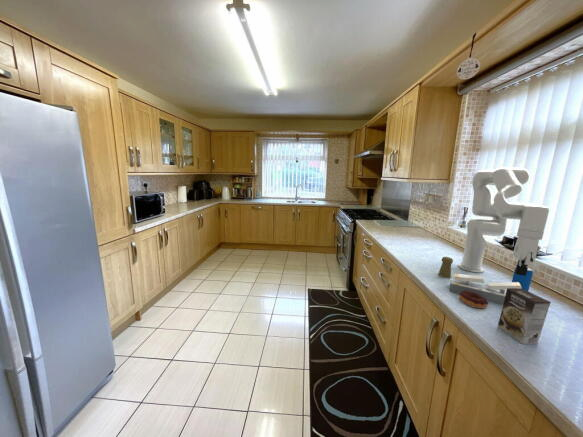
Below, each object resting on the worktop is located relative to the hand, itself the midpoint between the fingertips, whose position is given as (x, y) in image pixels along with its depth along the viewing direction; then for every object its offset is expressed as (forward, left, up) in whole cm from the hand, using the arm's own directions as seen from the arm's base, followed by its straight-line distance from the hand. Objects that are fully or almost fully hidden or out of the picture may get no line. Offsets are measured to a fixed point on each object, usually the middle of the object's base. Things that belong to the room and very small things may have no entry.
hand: (520, 274), depth 100 cm
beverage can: (-20, +6, -14) cm, 25 cm away
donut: (+11, -15, -15) cm, 24 cm away
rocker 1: (-1, -17, -7) cm, 19 cm away
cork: (-16, -26, -14) cm, 33 cm away
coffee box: (+28, -5, -14) cm, 32 cm away
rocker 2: (-1, -4, -7) cm, 8 cm away
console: (0, -10, -14) cm, 17 cm away
